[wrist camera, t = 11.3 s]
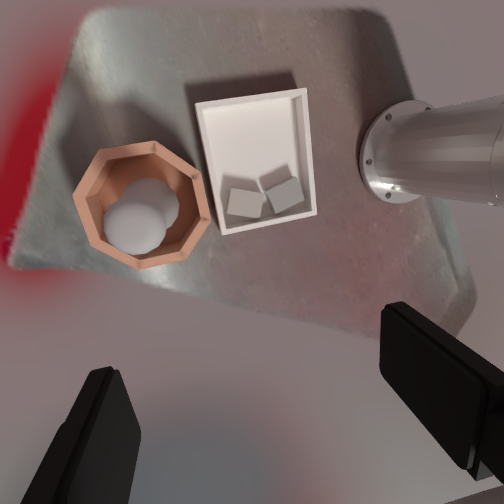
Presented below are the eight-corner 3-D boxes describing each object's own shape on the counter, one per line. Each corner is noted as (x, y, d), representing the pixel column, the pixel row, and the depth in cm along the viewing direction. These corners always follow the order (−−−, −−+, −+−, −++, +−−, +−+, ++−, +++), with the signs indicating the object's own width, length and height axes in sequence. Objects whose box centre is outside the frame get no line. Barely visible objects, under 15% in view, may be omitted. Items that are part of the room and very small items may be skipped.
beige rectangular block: (261, 192, 35) (264, 193, 33) (256, 216, 35) (259, 218, 34) (229, 186, 34) (231, 187, 32) (225, 211, 34) (227, 213, 33)
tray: (298, 92, 32) (306, 87, 30) (309, 211, 37) (316, 214, 35) (194, 107, 30) (195, 103, 28) (219, 231, 35) (222, 235, 33)
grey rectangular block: (291, 175, 35) (296, 176, 33) (299, 197, 36) (304, 199, 35) (263, 190, 35) (266, 191, 33) (272, 211, 36) (276, 214, 34)
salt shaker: (126, 171, 30) (88, 178, 18) (181, 180, 32) (180, 192, 20) (123, 225, 32) (86, 264, 20) (176, 231, 33) (172, 271, 21)
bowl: (191, 138, 31) (192, 134, 27) (213, 240, 35) (217, 251, 31) (76, 156, 29) (57, 155, 25) (113, 262, 33) (103, 278, 29)
